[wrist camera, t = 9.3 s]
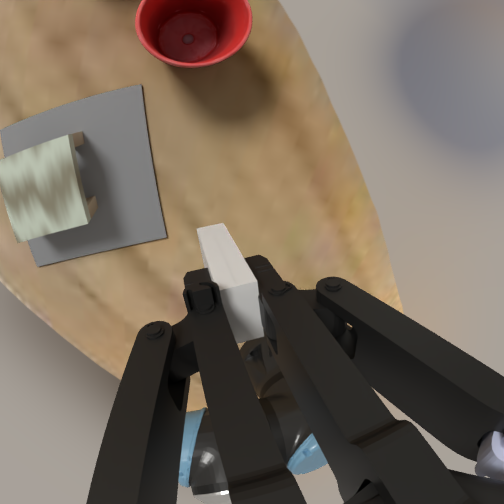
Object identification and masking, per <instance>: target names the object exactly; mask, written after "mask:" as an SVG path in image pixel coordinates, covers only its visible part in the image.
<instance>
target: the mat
mask: <svg viewBox="0 0 504 504" xmlns="http://www.w3.org/2000/svg"><path fill="white" fill-rule="evenodd" d="M81 131H82V132H83V138H84V144H82V145H80V146H77V147H75V152H76V157H77V162H78V167H79V172H80V176H81V181H82V185H83V189H84V194H85V198H88V197H92V196H96V200H97V204H98V209H97V210H96V212H95V214H94V215H93V217H92V218H91V220H90V222H89V223H88V224H86V225H82V226H78V227H74V228H70V229H66V230H62V231H59V232H55V233H51V234H48V235H44V236H40V237H37V238H33V239H30V240H27V241H28V244H29V246H30V249H31V252H32V254H33V257H34V260H35V262H36V265H37V267H39V266H43V265H47V264H51V263H55V262H59V261H63V260H67V259H72V258H76V257H80V256H84V255H89V254H93V253H98V252H102V251H106V250H111V249H115V248H120V247H124V246H129V245H133V244H138V243H143V242H147V241H152V240H157V239H161V238H166V237H167V235H166V231H165V226H164V221H163V217H162V212H161V207H160V202H159V196H158V191H157V186H156V180H155V175H154V169H153V163H152V157H151V151H150V145H149V138H148V132H147V125H146V118H145V110H144V102H143V94H142V86H141V84H140V85H135V86H130V87H126V88H122V89H118V90H113V91H109V92H106V93H102V94H98V95H94V96H91V97H87V98H84V99H81V100H77V101H74V102H71V103H68V104H65V105H62V106H59V107H56V108H53V109H50V110H48V111H45V112H42V113H39V114H37V115H34V116H32V117H29V118H27V119H24V120H22V121H19V122H17V123H15V124H12V125H10V126H8V127H6V128H3V129H1V130H0V133H1V140H2V145H3V151H4V156H5V158H6V157H8V156H10V155H13V154H15V153H18V152H20V151H23V150H26V149H28V148H31V147H33V146H36V145H39V144H42V143H45V142H47V141H50V140H53V139H56V138H59V137H62V136H66V135H69V134H73V133H77V132H81Z"/></svg>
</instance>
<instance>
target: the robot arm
mask: <svg viewBox="0 0 504 504" xmlns="http://www.w3.org/2000/svg"><path fill="white" fill-rule="evenodd" d="M197 233H198V238H199V243H200V248H201V253H202V258H203V262H204V267H205V268H203V269H199V270H195V271H190V272H187V273H186V275H185V277H184V285H185V289H184V291H183V297H184V301H185V304H186V308H187V311H188V314H187V316H186V317H185V318H184V319H183V320H182V321H180V322H179V323H177V324H175V325H173V326H171V325H170V324H169V323H167V322H165V321H156V322H151V323H149V324H147V325H145V326H144V327H143V328H141V329H140V331H139V332H138V334H137V337H136V340H135V343H134V345H133V348H132V351H131V354H130V356H129V359H128V362H127V365H126V368H125V371H124V374H123V377H122V379H121V383H120V385H119V388H118V392H117V395H116V398H115V401H114V404H113V407H112V410H111V413H110V417H109V420H108V423H107V427H106V430H105V433H104V437H103V440H102V444H101V448H100V451H99V455H98V459H97V462H96V467H95V470H94V474H93V478H92V482H91V487H90V490H89V495H88V499H87V504H176V501H177V489H178V481H179V483H180V485H182V486H185V487H190V486H191V488H192V492H193V496H194V497H195V498H196V499H198V500H200V501H201V502H203V503H205V504H307V503H306V501H305V499H304V497H303V495H302V492H301V490H300V488H299V486H298V484H297V482H296V480H295V478H294V476H293V475H292V473H293V474H301V473H302V474H305V473H308V472H311V471H313V470H316V469H318V468H320V467H322V466H324V465H326V464H327V463H328V464H329V466H330V468H331V470H332V471H333V473H334V475H335V477H336V480H337V483H338V488H339V492H340V494H341V497H342V499H343V501H344V504H504V377H503V376H502V375H500V374H499V373H497V372H495V371H494V370H493V369H491V368H489V367H488V366H486V365H485V364H483V363H482V362H480V361H478V360H477V359H475V358H474V357H472V356H470V355H469V354H467V353H466V352H464V351H462V350H461V349H459V348H458V347H456V346H454V345H453V344H451V343H450V342H447V341H446V340H445V339H443V338H441V337H440V336H438V335H437V334H435V333H433V332H432V331H430V330H428V329H427V328H425V327H423V326H422V325H420V324H419V323H417V322H415V321H414V320H412V319H410V318H409V317H407V316H405V315H404V314H402V313H400V312H399V311H397V310H395V309H394V308H392V307H390V306H389V305H387V304H385V303H384V302H382V301H380V300H379V299H377V298H375V297H374V296H372V295H370V294H369V293H367V292H365V291H364V290H362V289H360V288H358V287H357V286H355V285H353V284H352V283H350V282H348V281H346V280H345V279H342V278H339V277H327V278H323V279H321V280H320V281H318V282H317V284H316V289H313V290H297V288H296V287H295V286H294V285H293V284H292V283H290V282H287V281H283V280H282V278H281V277H280V276H279V274H278V273H277V272H276V270H275V269H274V268H273V266H272V265H271V264H270V262H269V261H268V259H267V258H265V257H263V256H261V255H256V256H252V257H247V258H243V256H242V254H241V252H240V251H239V249H238V247H237V246H236V244H235V242H234V241H233V239H232V237H231V235H230V234H229V232H228V230H227V229H226V227H225V225H224V223H220V224H216V225H211V226H206V227H202V228H197ZM347 323H349V324H350V325H351V326H352V328H351V327H350V326H348V325H347ZM263 328H264V329H263ZM245 341H246V342H245ZM241 342H245V343H244V345H243V346H242V348H241V349H240V351H239V348H238V345H237V344H238V343H241ZM198 371H199V372H200V376H201V381H202V385H203V390H204V394H205V398H206V403H207V407H208V408H207V407H206V408H202V409H201V410H196V411H191V412H186V409H187V401H188V393H189V386H190V376H191V375H193V374H194V373H196V372H198ZM372 388H373V389H375V390H376V391H377V392H378V393H380V394H381V395H382V396H384V397H385V398H386V399H387V400H388V401H390V402H391V403H392V404H393V405H395V406H396V407H397V408H398V409H400V410H401V411H402V412H403V413H405V414H406V415H407V416H408V417H410V418H411V419H412V420H413V421H415V422H416V423H418V424H419V425H420V426H421V427H422V428H423V429H425V430H426V431H427V432H429V433H430V434H431V435H433V436H434V437H435V438H436V439H438V440H439V441H440V442H441V443H443V444H444V445H445V446H447V447H448V448H450V449H451V450H453V451H454V452H456V453H457V454H459V455H461V456H464V457H465V458H467V459H470V460H473V461H476V462H477V464H476V466H475V473H476V474H477V475H478V476H476V475H471V474H466V473H462V472H458V471H454V470H450V469H447V468H446V466H445V465H444V464H443V462H442V461H441V460H440V458H439V457H438V456H437V454H436V453H435V452H434V450H433V449H432V448H431V446H430V445H429V444H428V442H427V441H426V440H425V438H424V437H423V436H422V435H421V433H420V432H419V431H418V429H417V428H416V427H415V426H414V425H413V424H412V423H411V422H409V421H407V420H397V419H395V418H394V417H393V416H392V414H391V413H390V412H389V410H388V409H387V408H386V406H385V405H384V403H383V402H382V401H381V399H380V398H379V397H378V396H377V394H376V393H375V391H374V390H373V389H372ZM256 394H257V395H258V396H259V397H260V399H258V397H257V395H256ZM484 476H488V477H490V478H486V477H484Z"/></svg>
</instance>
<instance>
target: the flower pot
mask: <svg viewBox="0 0 504 504" xmlns="http://www.w3.org/2000/svg"><path fill="white" fill-rule="evenodd" d="M135 27H136V32H137V35H138V38H139V40H140V42H141V43H142V45H143V46H144V47H145V49H146V50H147V51H148V52H149V53H150V54H152V55H153V56H154V57H156V58H157V59H159V60H161V61H163V62H165V63H167V64H170V65H173V66H177V67H183V68H198V67H205V66H210V65H213V64H216V63H219V62H221V61H223V60H225V59H227V58H229V57H230V56H232V55H234V54H235V53H236V52H237V51H239V50H240V49H241V48H242V46H243V45H244V44H245V42H246V41H247V39H248V37H249V35H250V32H251V28H252V11H251V7H250V5H249V3H248V0H142V1H141V3H140V5H139V7H138V10H137V13H136V19H135Z"/></svg>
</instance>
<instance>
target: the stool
mask: <svg viewBox="0 0 504 504" xmlns="http://www.w3.org/2000/svg"><path fill="white" fill-rule="evenodd" d="M82 144H84V138H83V132H82V131H81V132H77V133H73V134H69V135H66V136H62V137H59V138H56V139H53V140H50V141H47V142H45V143H42V144H39V145H36V146H33V147H31V148H28V149H26V150H23V151H20V152H18V153H15V154H13V155H10V156H8V157H6V158H3V159H1V160H0V187H1V191H2V195H3V199H4V202H5V206H6V209H7V213H8V216H9V219H10V222H11V225H12V228H13V231H14V234H15V237H16V240H17V243H20V242H23V241H26V240H30V239H33V238H37V237H40V236H44V235H48V234H51V233H55V232H59V231H62V230H66V229H70V228H74V227H78V226H82V225H86V224H88V223H89V222H90V220H91V218H92V217H93V215H94V214H95V212H96V210H97V209H98V204H97V200H96V196H92V197H88V198H85V194H84V189H83V185H82V181H81V176H80V172H79V167H78V162H77V157H76V152H75V147H77V146H80V145H82Z"/></svg>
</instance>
